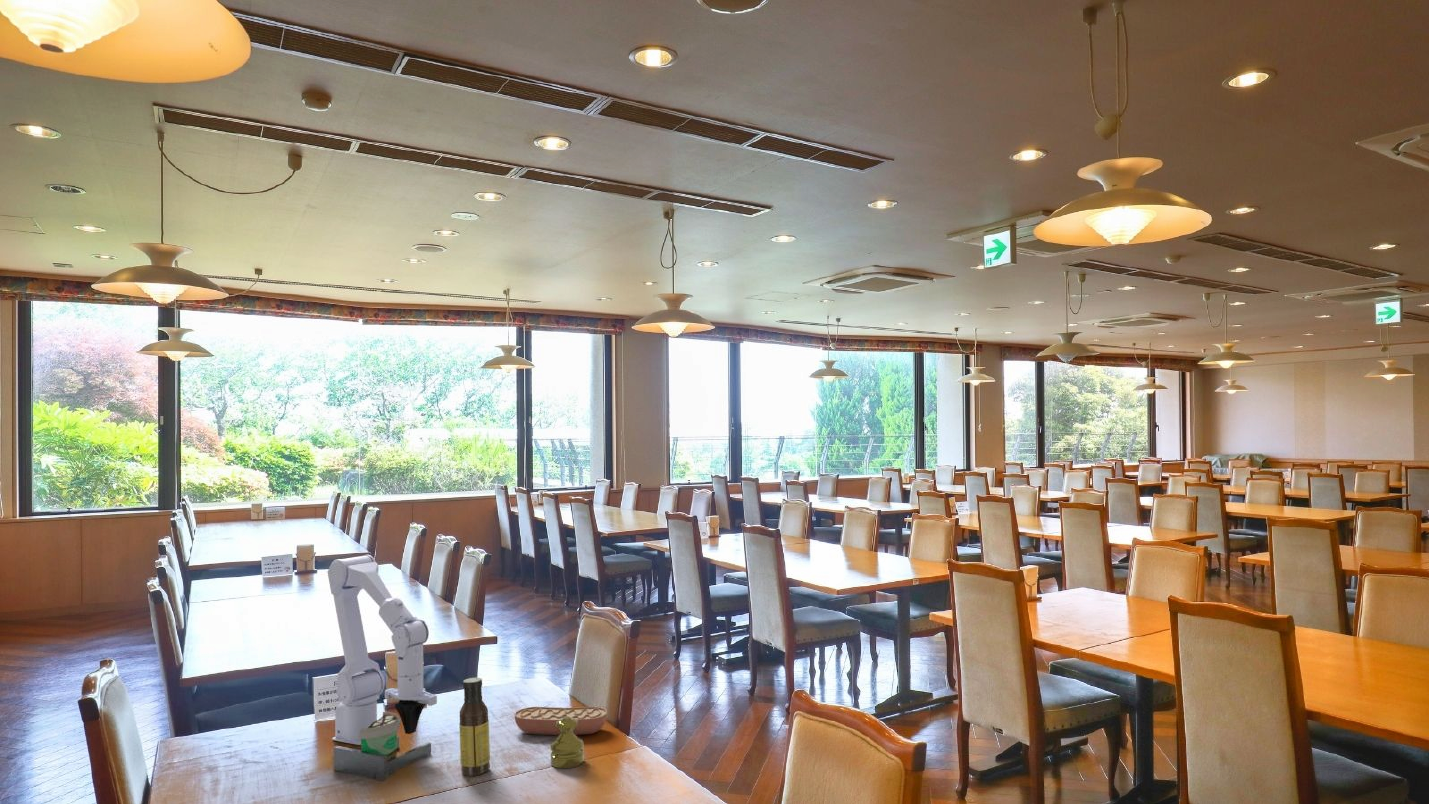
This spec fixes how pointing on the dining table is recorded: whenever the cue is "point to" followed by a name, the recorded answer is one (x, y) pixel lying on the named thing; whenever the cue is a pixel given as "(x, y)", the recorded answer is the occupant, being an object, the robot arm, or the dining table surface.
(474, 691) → the sauce bottle
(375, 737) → the food container
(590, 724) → the terracotta bread basket
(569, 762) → the olive rounded piece
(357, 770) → the dock
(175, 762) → the dining table surface
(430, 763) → the dining table surface
